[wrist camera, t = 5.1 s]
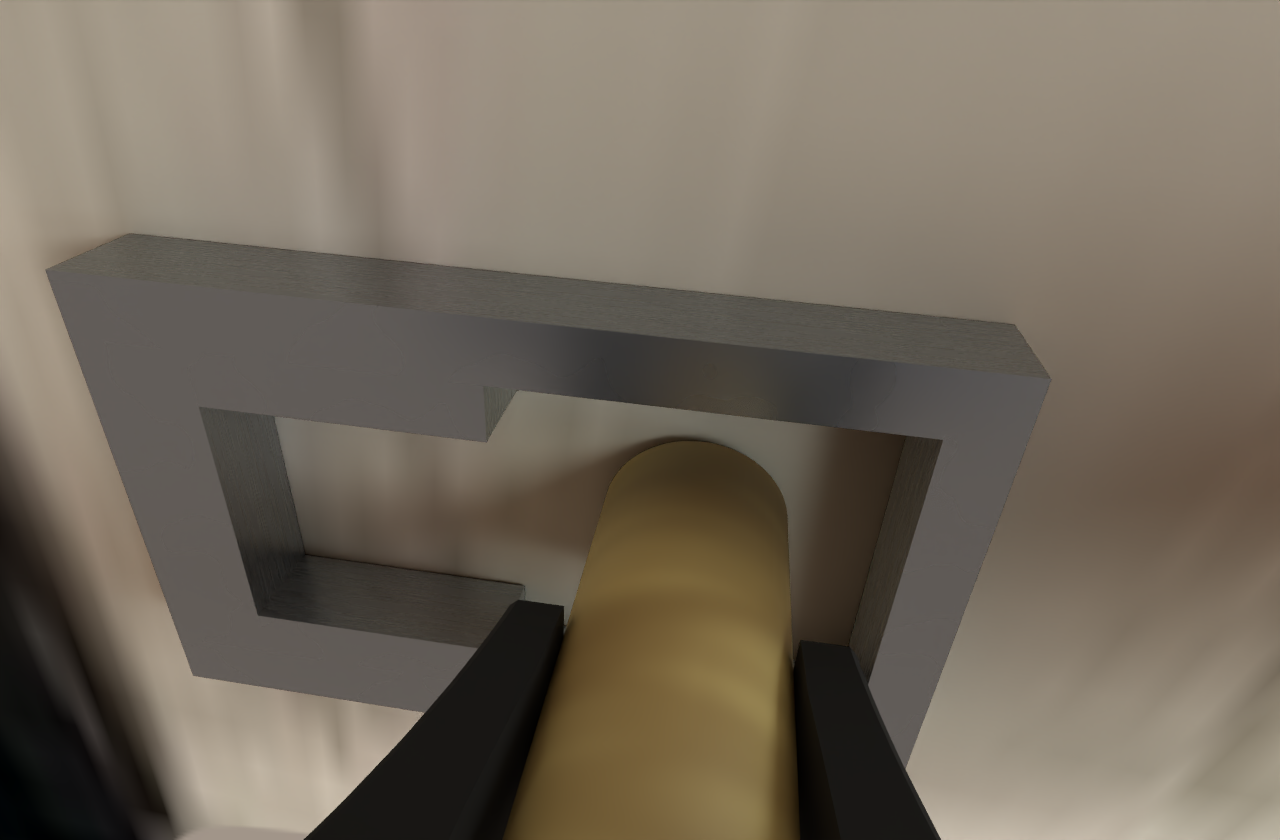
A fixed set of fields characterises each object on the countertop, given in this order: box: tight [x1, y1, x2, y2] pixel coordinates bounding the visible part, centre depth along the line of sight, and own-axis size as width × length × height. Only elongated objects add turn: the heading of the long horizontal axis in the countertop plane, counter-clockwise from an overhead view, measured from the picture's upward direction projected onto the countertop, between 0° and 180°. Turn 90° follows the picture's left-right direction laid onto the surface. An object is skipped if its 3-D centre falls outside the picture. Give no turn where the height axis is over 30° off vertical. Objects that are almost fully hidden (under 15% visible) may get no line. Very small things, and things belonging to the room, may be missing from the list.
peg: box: [502, 441, 800, 840], centre depth 9 cm, size 3×3×8 cm
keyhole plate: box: [46, 234, 1051, 768], centre depth 12 cm, size 13×8×2 cm, turn 87°
